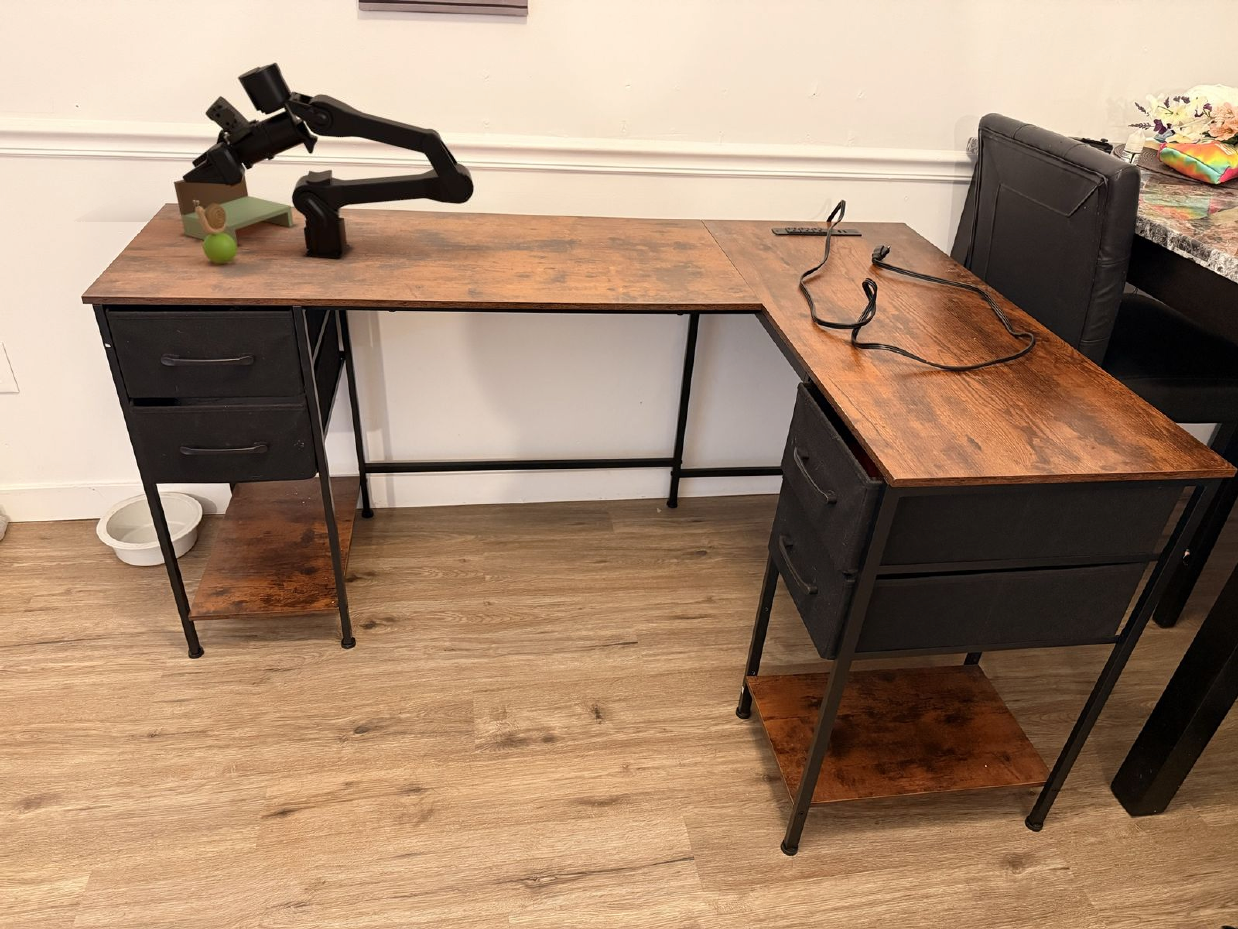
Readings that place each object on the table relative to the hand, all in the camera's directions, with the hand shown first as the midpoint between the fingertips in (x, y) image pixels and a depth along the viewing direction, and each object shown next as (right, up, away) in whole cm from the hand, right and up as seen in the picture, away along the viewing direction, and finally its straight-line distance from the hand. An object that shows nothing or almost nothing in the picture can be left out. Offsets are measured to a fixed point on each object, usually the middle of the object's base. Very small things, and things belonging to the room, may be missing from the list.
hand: (188, 171), depth 147 cm
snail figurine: (+4, -15, +4) cm, 16 cm away
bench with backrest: (0, -5, +19) cm, 20 cm away
